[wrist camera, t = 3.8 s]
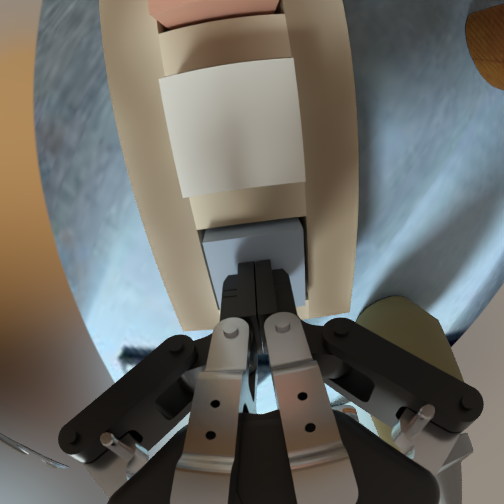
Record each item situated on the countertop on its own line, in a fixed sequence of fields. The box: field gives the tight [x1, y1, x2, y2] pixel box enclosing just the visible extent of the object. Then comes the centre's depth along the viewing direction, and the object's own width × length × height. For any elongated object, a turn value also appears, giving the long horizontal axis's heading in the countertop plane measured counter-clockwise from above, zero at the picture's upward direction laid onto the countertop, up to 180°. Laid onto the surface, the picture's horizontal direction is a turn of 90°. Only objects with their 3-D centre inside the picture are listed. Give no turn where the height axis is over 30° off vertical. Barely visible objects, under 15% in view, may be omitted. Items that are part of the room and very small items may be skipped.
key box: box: [99, 0, 359, 331], centre depth 12 cm, size 10×22×4 cm, turn 7°
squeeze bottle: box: [356, 296, 473, 504], centre depth 14 cm, size 8×8×18 cm
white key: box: [159, 58, 306, 198], centre depth 10 cm, size 4×4×3 cm
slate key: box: [202, 217, 306, 310], centre depth 15 cm, size 4×4×3 cm
